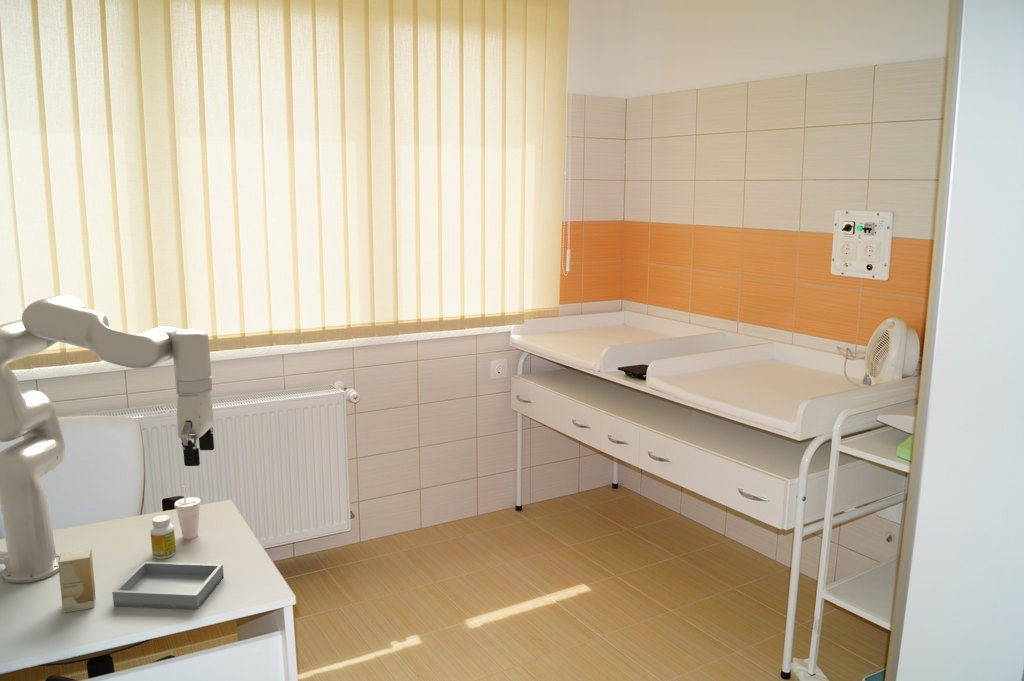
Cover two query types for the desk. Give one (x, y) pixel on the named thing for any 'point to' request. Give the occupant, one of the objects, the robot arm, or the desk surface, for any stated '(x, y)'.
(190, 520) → the smoothie
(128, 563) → the desk surface
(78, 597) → the skincare box
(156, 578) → the tray
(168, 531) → the supplement bottle
